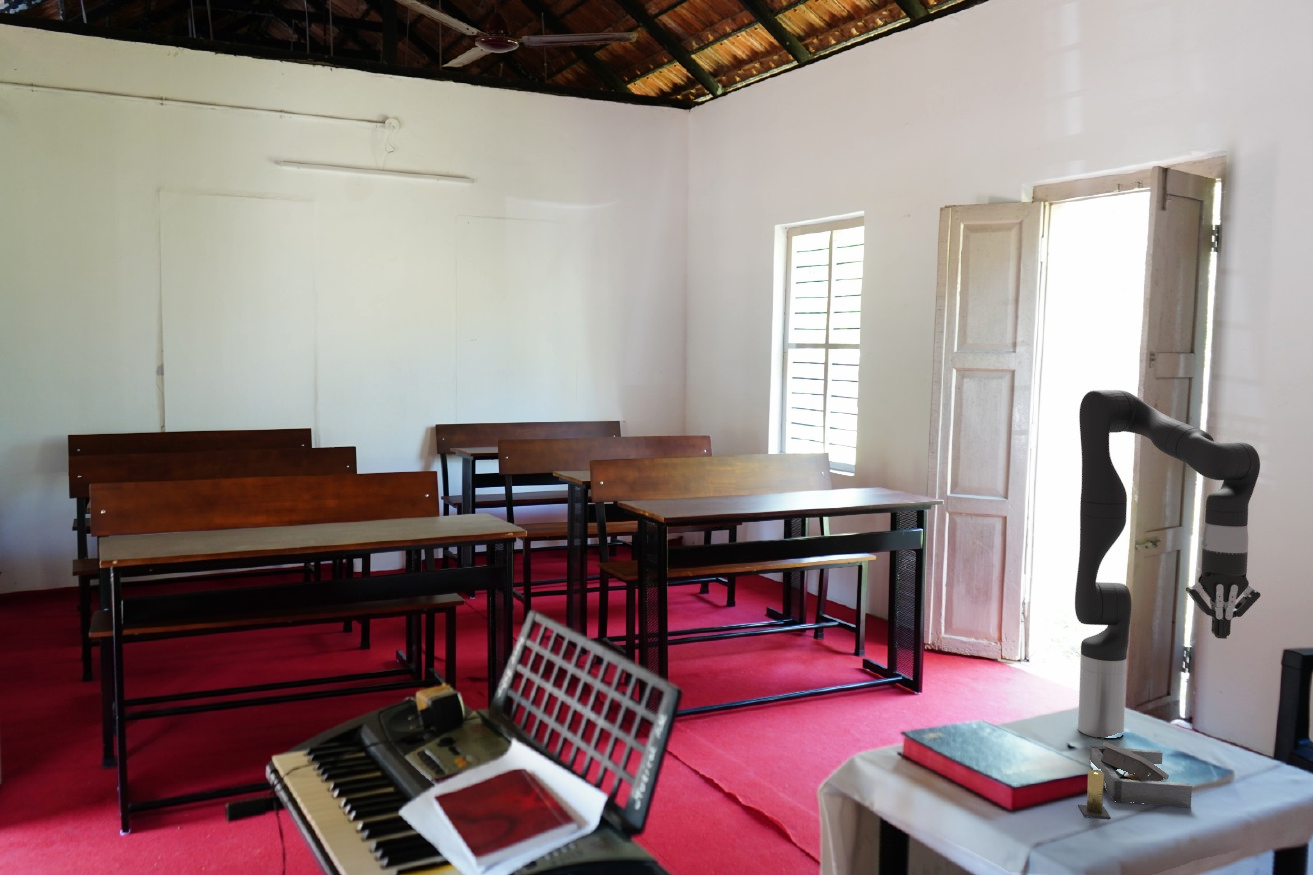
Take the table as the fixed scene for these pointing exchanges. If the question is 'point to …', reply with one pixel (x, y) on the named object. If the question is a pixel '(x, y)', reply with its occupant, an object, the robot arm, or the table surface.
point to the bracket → (1142, 783)
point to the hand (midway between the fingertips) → (1220, 637)
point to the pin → (1095, 791)
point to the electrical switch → (1132, 763)
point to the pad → (1089, 814)
